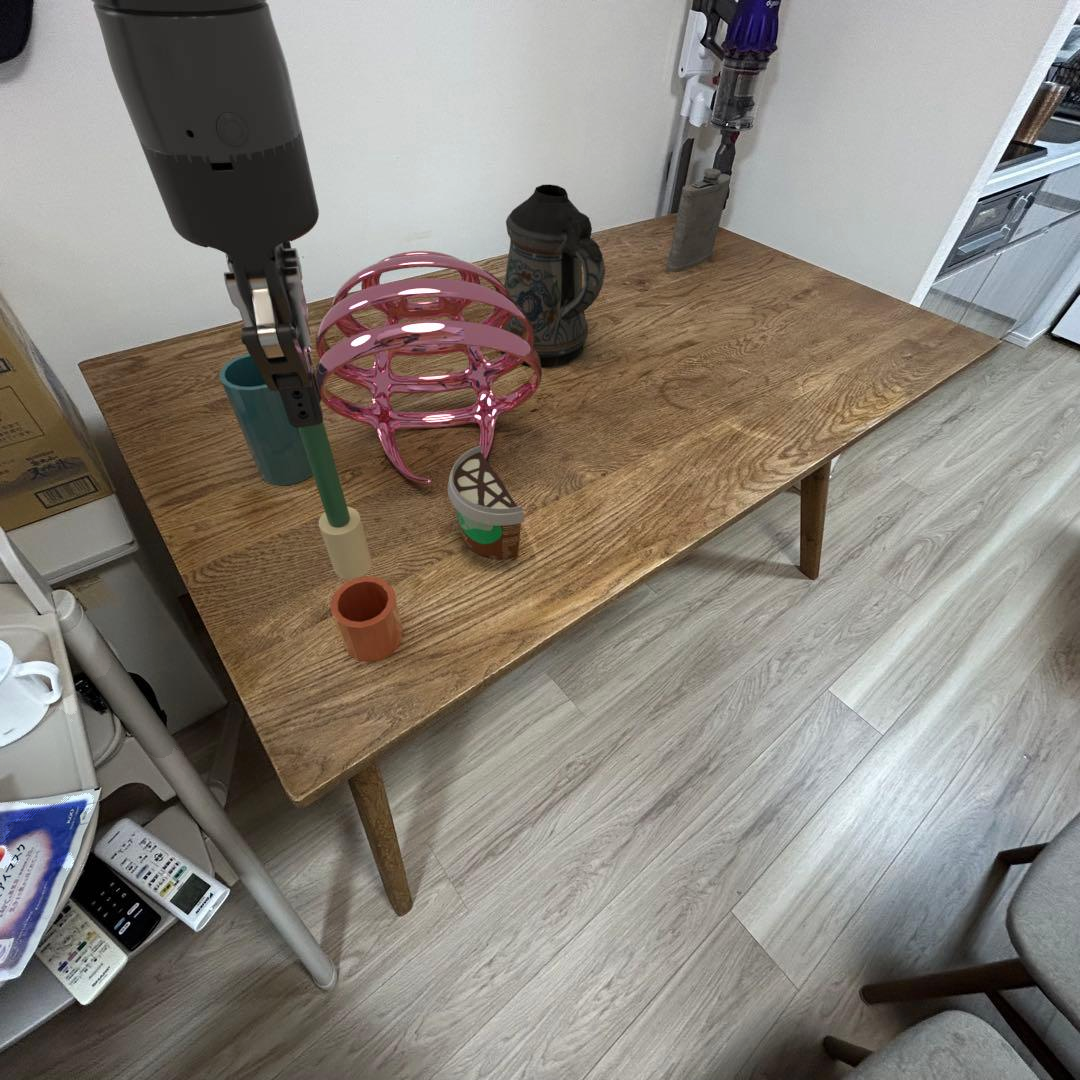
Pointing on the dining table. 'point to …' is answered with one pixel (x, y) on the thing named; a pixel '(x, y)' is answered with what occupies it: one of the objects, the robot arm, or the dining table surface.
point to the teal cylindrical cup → (264, 424)
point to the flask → (698, 220)
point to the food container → (484, 508)
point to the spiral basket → (425, 348)
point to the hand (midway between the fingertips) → (306, 412)
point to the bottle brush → (335, 508)
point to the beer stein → (552, 273)
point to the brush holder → (367, 618)
